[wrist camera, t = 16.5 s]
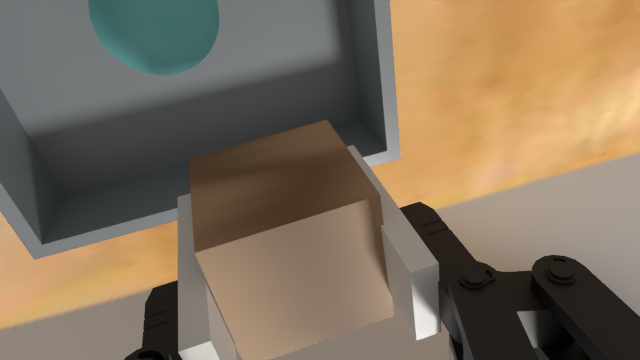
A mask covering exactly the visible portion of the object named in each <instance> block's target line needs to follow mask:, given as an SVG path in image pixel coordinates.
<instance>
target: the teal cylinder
mask: <svg viewBox="0 0 640 360" xmlns="http://www.w3.org/2000/svg"><path fill="white" fill-rule="evenodd" d="M88 6H89V14H90V18H91V22H92V25H93V27H94V30H95V32H96V34H97V36H98V38H99V39H100V41H101V42H102V44H103V45H104V46H105V47H106V49H107V50H108V51H109V52H110V53H111V54H112V55H113V56H114V57H115V58H117V59H118V60H119V61H121V62H122V63H124V64H125V65H127V66H129V67H131V68H133V69H135V70H137V71H140V72H144V73H147V74H153V75H173V74H178V73H181V72H184V71H187V70H189V69H191V68H193V67H194V66H196V65H197V64H199V63H200V62H201V61H202V60H203V59H204V58H205V57H206V56H207V55H208V53H209V52H210V50H211V49H212V47H213V45H214V43H215V41H216V38H217V34H218V30H219V8H218V4H217V0H88Z"/></svg>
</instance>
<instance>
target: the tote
mask: <svg viewBox="0 0 640 360" xmlns="http://www.w3.org/2000/svg"><path fill="white" fill-rule="evenodd" d="M217 4H218V8H219V30H218V34H217V38H216V41H215V43H214V45H213V47H212V49H211V50H210V52H209V53H208V55H207V56H206V57H205V58H204V59H203V60H202V61H201V62H200V63H199V64H197V65H196V66H194V67H193V68H191V69H189V70H187V71H184V72H181V73H178V74H173V75H153V74H147V73H144V72H140V71H137V70H135V69H133V68H131V67H129V66H127V65H125V64H124V63H122V62H121V61H119V60H118V59H117V58H115V57H114V56H113V55H112V54H111V53H110V52H109V51H108V50H107V49H106V47H105V46H104V45H103V44H102V42H101V41H100V39H99V38H98V36H97V34H96V32H95V30H94V27H93V25H92V22H91V18H90V14H89V6H88V0H0V211H1V213H2V214H3V215H4V217H5V218H6V220H7V221H8V223H9V224H10V225H11V227H12V228H13V230H14V231H15V233H16V234H17V235H18V237H19V238H20V240H21V241H22V243H23V244H24V245H25V247H26V248H27V250H28V251H29V253H30V254H31V255H32V257H33V258H34V260H35V259H39V258H42V257H46V256H49V255H53V254H57V253H60V252H64V251H68V250H71V249H75V248H78V247H82V246H86V245H89V244H93V243H97V242H100V241H104V240H108V239H111V238H115V237H118V236H122V235H126V234H129V233H133V232H137V231H140V230H144V229H147V228H151V227H155V226H158V225H162V224H166V223H169V222H173V221H176V220H178V197H180V196H183V195H186V194H190V193H191V192H190V176H189V161H188V159H189V158H193V157H196V156H200V155H204V154H207V153H211V152H214V151H218V150H221V149H225V148H228V147H232V146H235V145H239V144H242V143H246V142H249V141H253V140H256V139H260V138H263V137H267V136H270V135H274V134H278V133H281V132H285V131H288V130H292V129H295V128H299V127H302V126H306V125H309V124H313V123H316V122H320V121H323V120H328V122H329V123H330V124H331V126H332V127H333V129H334V130H335V131H336V133H337V134H338V136H339V137H340V138H341V140H342V141H343V143H344V144H345V146H346V147H348V146H351V145H354V146H355V148H356V149H357V151H358V152H359V153H360V155H361V156H362V158H363V159H364V160H365V162H366V163H367V164H368V166H369V167H373V166H376V165H380V164H383V163H387V162H391V161H394V160H398V159H401V157H400V143H399V128H398V114H397V100H396V86H395V72H394V57H393V43H392V29H391V15H390V1H389V0H217Z"/></svg>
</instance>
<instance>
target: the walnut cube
mask: <svg viewBox="0 0 640 360" xmlns="http://www.w3.org/2000/svg"><path fill="white" fill-rule="evenodd" d="M188 161H189V176H190V192H191V207H192V223H193V238H194V253H195V255H196V258H197V260H198V262H199V264H200V267H201V269H202V271H203V273H204V275H205V278H206V280H207V282H208V284H209V287H210V289H211V291H212V293H213V296H214V298H215V300H216V302H217V304H218V307H219V309H220V311H221V313H222V316H223V318H224V320H225V322H226V325H227V327H228V329H229V331H230V333H231V336H232V338H233V340H234V342H235V345H236V347H237V349H238V351H239V353H240V356H241V358H242V360H270V359H273V358H276V357H279V356H281V355H284V354H287V353H290V352H293V351H296V350H298V349H301V348H304V347H307V346H310V345H312V344H315V343H318V342H321V341H324V340H327V339H329V338H332V337H335V336H338V335H341V334H344V333H347V332H349V331H352V330H355V329H358V328H361V327H363V326H366V325H369V324H372V323H375V322H377V321H380V320H383V319H386V318H389V317H392V316H394V311H393V302H392V295H391V293H390V291H389V285H388V277H387V269H386V262H385V254H384V246H383V238H382V231H381V225H384V223H383V214H382V205H381V196H380V194H379V192H378V191H377V189H376V188H375V187H374V185H373V184H372V182H371V181H370V180H369V178H368V177H367V175H366V174H365V172H364V171H363V170H362V168H361V167H360V165H359V164H358V163H357V161H356V160H355V158H354V157H353V155H352V154H351V153H350V151H349V150H348V148H347V147H346V146H345V144H344V143H343V141H342V140H341V138H340V137H339V136H338V134H337V133H336V131H335V130H334V129H333V127H332V126H331V124H330V123H329V122H328V120H323V121H320V122H316V123H313V124H309V125H306V126H302V127H299V128H295V129H292V130H288V131H285V132H281V133H278V134H274V135H270V136H267V137H263V138H260V139H256V140H253V141H249V142H246V143H242V144H239V145H235V146H232V147H228V148H225V149H221V150H218V151H214V152H211V153H207V154H204V155H200V156H196V157H193V158H189V159H188Z"/></svg>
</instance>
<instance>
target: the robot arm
mask: <svg viewBox="0 0 640 360" xmlns="http://www.w3.org/2000/svg"><path fill="white" fill-rule="evenodd" d="M347 148H348V150H349V151H350V153H351V154H352V155H353V157H354V158H355V160H356V161H357V163H358V164H359V165H360V167H361V168H362V170H363V171H364V172H365V174H366V175H367V177H368V178H369V180H370V181H371V182H372V184H373V185H374V187H375V188H376V189H377V191H378V192H379V194H380V196H381V205H382V214H383V223H384V225H381V231H382V238H383V246H384V254H385V262H386V269H387V277H388V285H389V291H390V293H391V295H392V297H393V298H394V300H395V302H396V304H397V306H398V308H399V309H400V311H401V313H402V315H403V317H404V319H405V320H406V322H407V324H408V326H409V328H410V330H411V332H412V333H413V335H414V337H415V339H416V340H420V339H423V338H425V337H428V336H431V335H434V334H437V333H439V332H441V320H442V322H443V324H444V325H445V327H446V328H447V330H448V331H449V351H450V360H640V317H639V316H638V315H637V314H636V313H635V312H634V311H633V310H632V309H631V308H629V307H628V306H627V305H626V304H625V303H624V302H623V301H622V300H621V299H620V298H619V297H617V296H616V295H615V294H614V293H613V292H612V291H611V290H610V289H609V288H608V287H607V286H606V285H604V284H603V283H602V282H601V281H600V280H599V279H598V278H597V277H596V276H594V274H592V273H591V272H590V271H589V270H588V269H587V268H586V267H585V266H583V265H582V264H581V263H579V262H578V261H576V260H574V259H571V258H568V257H566V256H558V255H550V256H544V257H542V258H540V259H539V260H537V261H536V262H535V264H534V265H533V267H532V271H518V272H500V271H496V270H495V269H494V268H492V267H491V266H489V265H487V264H485V263H481V262H478V261H476V260H475V259H474V258H473V256H471V254H470V253H469V252H468V251H467V249H466V248H465V247H464V246H463V244H462V243H461V242H460V241H459V240H458V238H457V237H456V236H455V235H454V234H453V232H452V231H451V230H449V228H448V226H447V225H446V224H445V223H444V222H443V221H442V220H441V218H440V217H439V215H438V214H437V213H436V212H435V211H434V209H432V208H430V207H429V206H427V205H425V204H423V203H421V202H417V203H414V204H411V205H408V206H405V207H401V208H399V207H398V206H397V205H396V203H395V202H394V200H393V199H392V198H391V196H390V195H389V194H388V192H387V191H386V189H385V188H384V187H383V185H382V184H381V182H380V181H379V180H378V178H377V177H376V176H375V174H374V173H373V171H372V170H371V169H370V167H369V166H368V164H367V163H366V162H365V160H364V159H363V158H362V156H361V155H360V153H359V152H358V151H357V149H356V148H355V146H354V145H351V146H348V147H347ZM124 360H237V359H236V351H235V343H234V340H233V338H232V336H231V333H230V331H229V329H228V327H227V325H226V322H225V320H224V318H223V316H222V313H221V311H220V309H219V307H218V304H217V302H216V300H215V298H214V296H213V293H212V291H211V289H210V287H209V284H208V282H207V280H206V278H205V275H204V273H203V271H202V269H201V267H200V264H199V262H198V260H197V258H196V255H195V253H194V238H193V223H192V207H191V193H190V194H186V195H183V196H180V197H178V280H177V281H174V282H171V283H167V284H164V285H161V286H158V287H155V288H153V290H152V292H151V293H150V295H149V297H148V299H147V301H146V303H145V320H144V332H143V342H142V348H141V349H138V350H136V351H135V352H133V353H132V354H130V355H129V356H127V357H126V358H125V359H124Z"/></svg>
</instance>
